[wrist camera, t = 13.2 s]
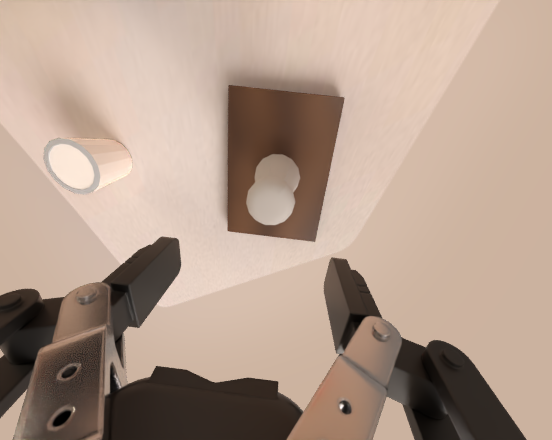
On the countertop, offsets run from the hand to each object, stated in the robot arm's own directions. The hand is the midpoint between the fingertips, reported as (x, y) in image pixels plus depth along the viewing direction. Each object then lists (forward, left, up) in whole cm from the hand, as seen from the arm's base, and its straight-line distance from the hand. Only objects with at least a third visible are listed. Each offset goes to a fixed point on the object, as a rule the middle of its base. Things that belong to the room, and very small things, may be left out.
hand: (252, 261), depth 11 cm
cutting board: (0, 0, -23) cm, 23 cm away
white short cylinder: (-25, -1, -23) cm, 34 cm away
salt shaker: (0, 0, -21) cm, 21 cm away
